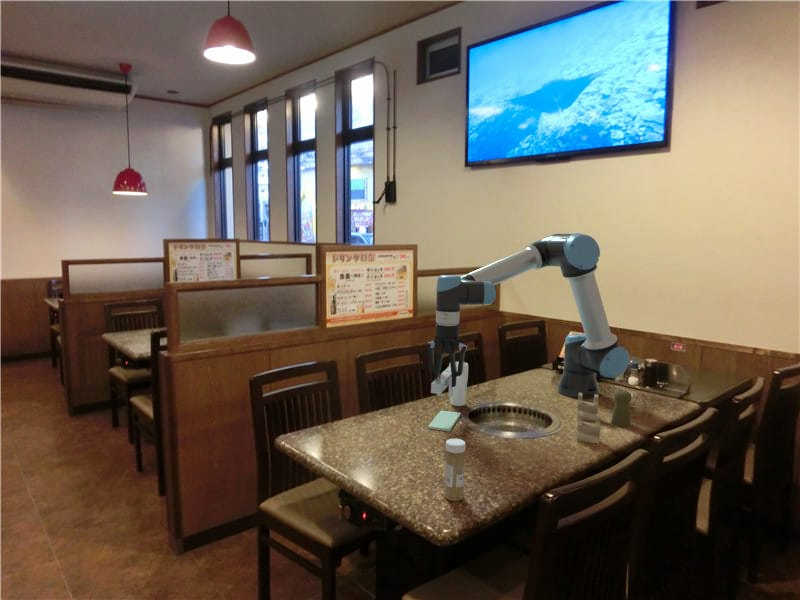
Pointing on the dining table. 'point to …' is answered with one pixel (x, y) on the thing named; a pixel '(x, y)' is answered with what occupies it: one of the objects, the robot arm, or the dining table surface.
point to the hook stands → (588, 411)
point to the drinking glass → (460, 387)
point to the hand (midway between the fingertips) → (445, 395)
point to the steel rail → (441, 381)
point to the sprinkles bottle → (454, 469)
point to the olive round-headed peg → (621, 409)
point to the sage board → (444, 421)
